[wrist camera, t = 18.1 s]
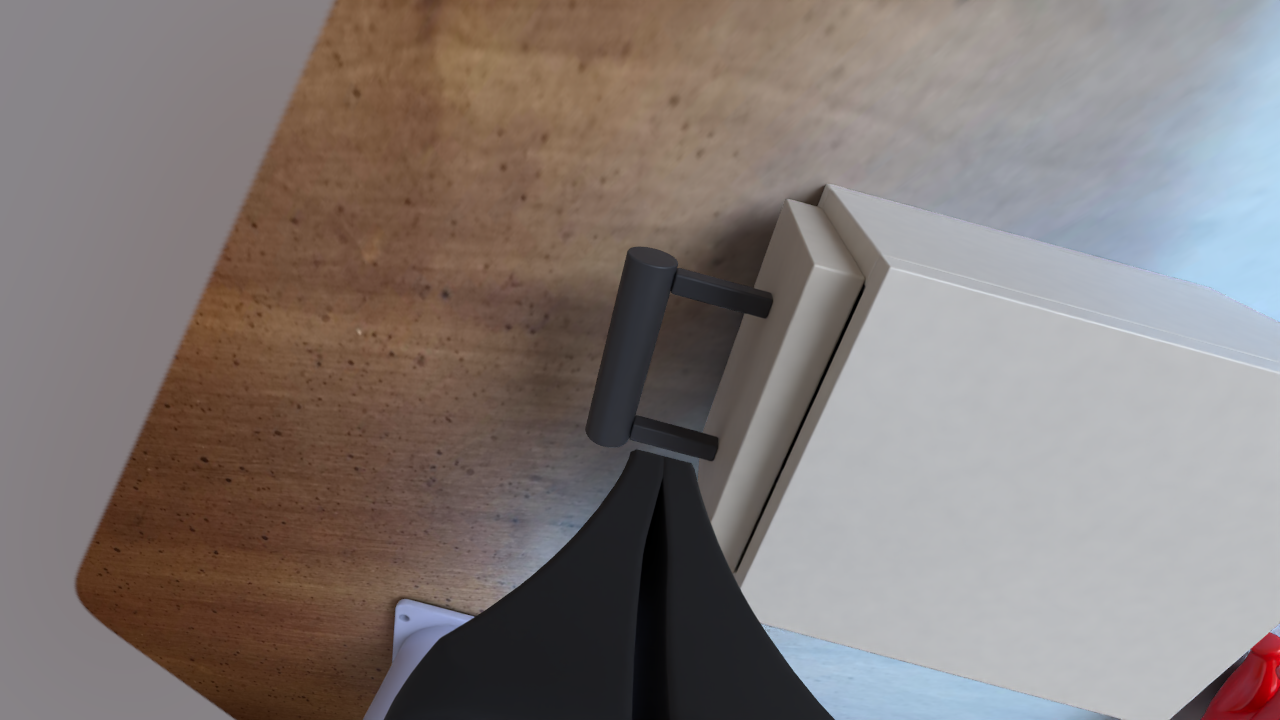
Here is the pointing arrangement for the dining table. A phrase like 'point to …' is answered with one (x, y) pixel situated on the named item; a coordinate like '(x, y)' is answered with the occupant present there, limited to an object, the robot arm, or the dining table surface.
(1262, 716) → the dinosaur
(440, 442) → the dining table surface
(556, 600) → the robot arm
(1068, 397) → the cabinet
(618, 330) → the drawer
